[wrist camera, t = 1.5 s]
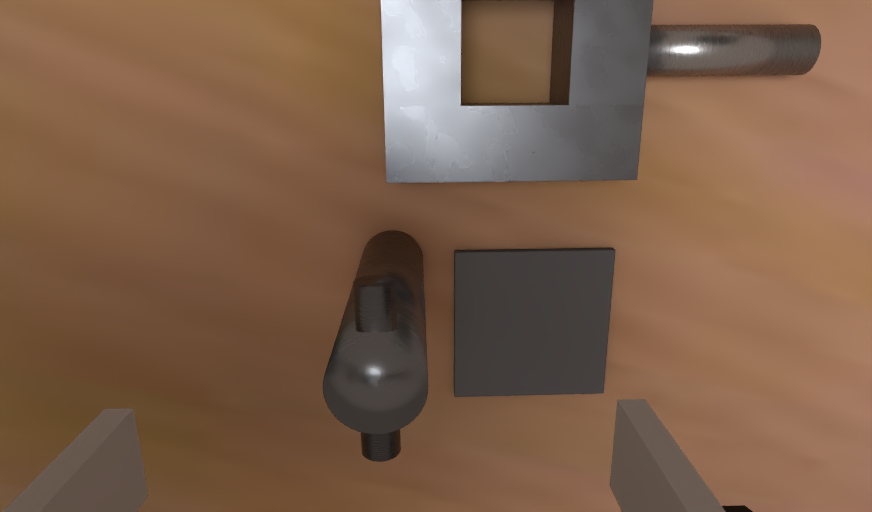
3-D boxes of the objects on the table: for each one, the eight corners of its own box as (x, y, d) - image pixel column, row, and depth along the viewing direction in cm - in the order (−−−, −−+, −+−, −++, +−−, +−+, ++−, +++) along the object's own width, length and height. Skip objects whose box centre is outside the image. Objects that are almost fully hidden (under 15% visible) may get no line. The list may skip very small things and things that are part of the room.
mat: (454, 392, 35) (454, 396, 35) (454, 250, 33) (455, 252, 32) (600, 389, 35) (603, 393, 35) (612, 247, 33) (615, 250, 32)
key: (364, 312, 33) (328, 473, 20) (359, 204, 32) (316, 296, 18) (423, 311, 34) (429, 470, 20) (422, 203, 32) (426, 294, 18)
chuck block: (390, 171, 31) (386, 183, 27) (382, -79, 28) (377, -105, 24) (771, 166, 32) (820, 177, 28) (809, -78, 28) (871, -104, 25)
